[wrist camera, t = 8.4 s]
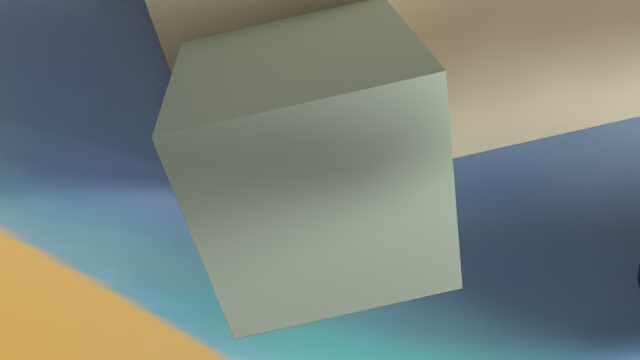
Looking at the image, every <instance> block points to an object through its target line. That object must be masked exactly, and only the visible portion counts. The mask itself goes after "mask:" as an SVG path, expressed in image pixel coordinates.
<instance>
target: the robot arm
mask: <svg viewBox="0 0 640 360" xmlns="http://www.w3.org/2000/svg"><path fill="white" fill-rule="evenodd" d="M638 284H639V288H640V265H639V271H638Z"/></svg>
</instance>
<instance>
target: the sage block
mask: <svg viewBox="0 0 640 360" xmlns="http://www.w3.org/2000/svg"><path fill="white" fill-rule="evenodd" d="M151 138H152V141H153V143H154V146H155V148H156V151H157V153H158V155H159V158H160V160H161V163H162V165H163V168H164V170H165V173H166V175H167V177H168V180H169V182H170V185H171V187H172V190H173V192H174V194H175V197H176V199H177V202H178V204H179V207H180V209H181V211H182V214H183V216H184V219H185V221H186V224H187V226H188V228H189V231H190V233H191V236H192V238H193V241H194V243H195V245H196V248H197V250H198V253H199V255H200V258H201V260H202V262H203V265H204V267H205V270H206V272H207V275H208V277H209V279H210V282H211V284H212V287H213V289H214V292H215V294H216V296H217V299H218V301H219V304H220V306H221V309H222V311H223V314H224V316H225V318H226V321H227V323H228V326H229V328H230V331H231V333H232V335H233V338H234V339H238V338H242V337H247V336H251V335H256V334H260V333H265V332H269V331H274V330H278V329H283V328H287V327H292V326H296V325H301V324H305V323H310V322H314V321H319V320H323V319H327V318H332V317H336V316H341V315H345V314H350V313H354V312H359V311H363V310H368V309H372V308H377V307H381V306H386V305H390V304H395V303H399V302H404V301H408V300H413V299H417V298H422V297H426V296H430V295H435V294H439V293H444V292H448V291H453V290H457V289H462V275H461V262H460V248H459V235H458V222H457V209H456V195H455V182H454V169H453V156H452V142H451V129H450V116H449V103H448V89H447V76H446V70H445V69H444V68H443V67H442V65H441V64H440V63H439V62H438V61H437V59H436V58H435V57H434V56H433V55H432V53H431V52H430V51H429V50H428V49H427V47H426V46H425V45H424V44H423V43H422V41H421V40H420V39H419V38H418V37H417V35H416V34H415V33H414V32H413V31H412V30H411V28H410V27H409V26H408V25H407V24H406V22H405V21H404V20H403V19H402V18H401V16H400V15H399V14H398V13H397V12H396V10H395V9H394V8H393V7H392V6H391V4H390V3H389V2H388V1H387V0H365V1H360V2H356V3H352V4H347V5H343V6H339V7H334V8H330V9H326V10H321V11H317V12H313V13H308V14H304V15H300V16H295V17H291V18H286V19H282V20H278V21H273V22H269V23H265V24H260V25H256V26H252V27H247V28H243V29H239V30H234V31H230V32H225V33H221V34H217V35H212V36H208V37H204V38H199V39H195V40H191V41H186V42H182V43H181V46H180V49H179V52H178V56H177V59H176V62H175V65H174V68H173V71H172V74H171V78H170V81H169V84H168V87H167V90H166V93H165V96H164V100H163V103H162V106H161V109H160V112H159V115H158V118H157V122H156V125H155V128H154V131H153V134H152V137H151Z"/></svg>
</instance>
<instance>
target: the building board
mask: <svg viewBox="0 0 640 360" xmlns="http://www.w3.org/2000/svg"><path fill="white" fill-rule="evenodd" d="M360 1H365V0H145V3H146V6H147V8H148V11H149V14H150V17H151V19H152V22H153V25H154V28H155V30H156V33H157V36H158V39H159V41H160V44H161V47H162V50H163V53H164V55H165V58H166V61H167V64H168V66H169V69H170V72H171V74H172V71H173V68H174V65H175V62H176V59H177V56H178V52H179V49H180V46H181V43H182V42H186V41H191V40H195V39H199V38H204V37H208V36H212V35H217V34H221V33H225V32H230V31H234V30H239V29H243V28H247V27H252V26H256V25H260V24H265V23H269V22H273V21H278V20H282V19H286V18H291V17H295V16H300V15H304V14H308V13H313V12H317V11H321V10H326V9H330V8H334V7H339V6H343V5H347V4H352V3H356V2H360ZM387 1H388V2H389V3H390V4H391V6H392V7H393V8H394V9H395V10H396V12H397V13H398V14H399V15H400V16H401V18H402V19H403V20H404V21H405V22H406V24H407V25H408V26H409V27H410V28H411V30H412V31H413V32H414V33H415V34H416V35H417V37H418V38H419V39H420V40H421V41H422V43H423V44H424V45H425V46H426V47H427V49H428V50H429V51H430V52H431V53H432V55H433V56H434V57H435V58H436V59H437V61H438V62H439V63H440V64H441V65H442V67H443V68H444V69H445V70H446V76H447V89H448V103H449V116H450V129H451V142H452V156H453V158H457V157H462V156H466V155H470V154H475V153H479V152H484V151H488V150H493V149H497V148H501V147H506V146H510V145H515V144H519V143H524V142H528V141H532V140H537V139H541V138H546V137H550V136H555V135H559V134H563V133H568V132H572V131H577V130H581V129H586V128H590V127H594V126H599V125H603V124H608V123H612V122H616V121H621V120H625V119H630V118H634V117H639V116H640V0H387Z"/></svg>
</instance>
